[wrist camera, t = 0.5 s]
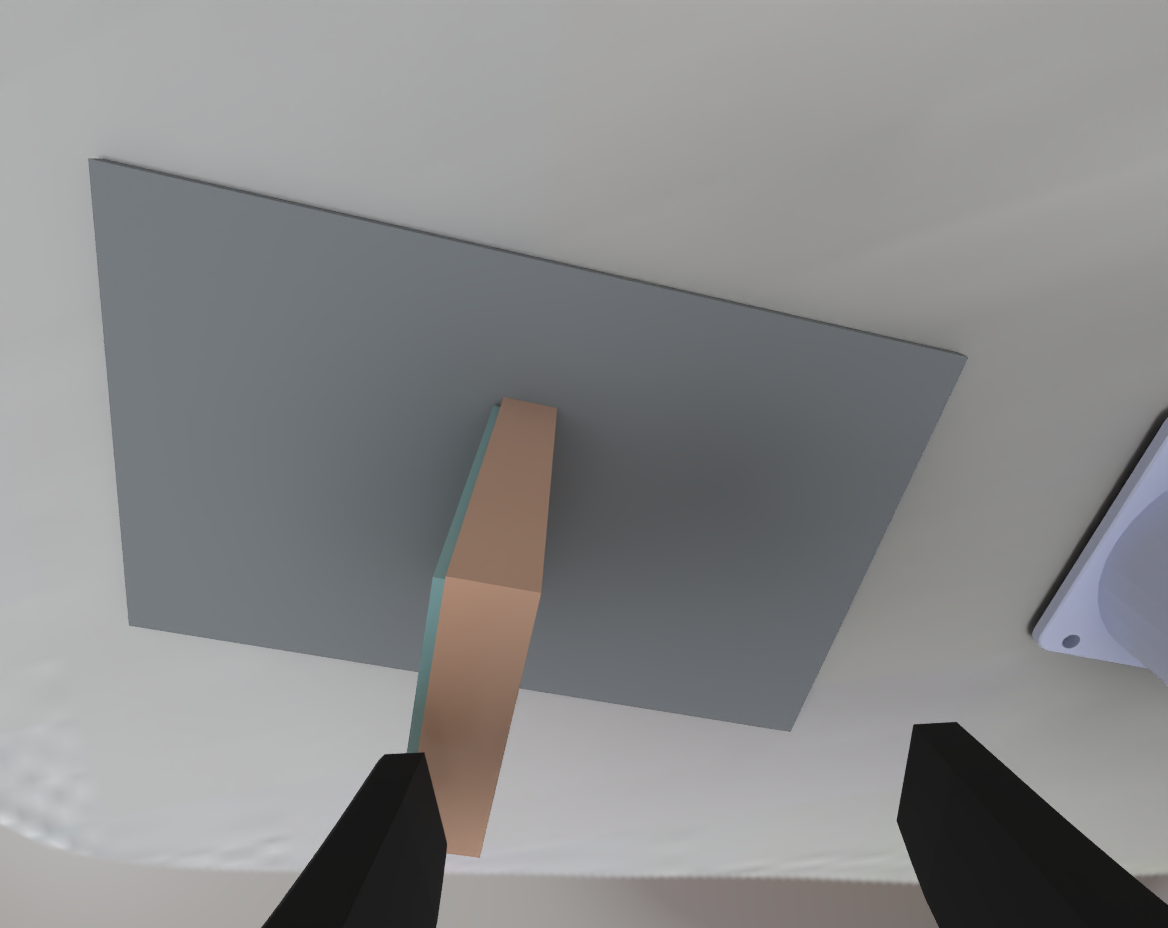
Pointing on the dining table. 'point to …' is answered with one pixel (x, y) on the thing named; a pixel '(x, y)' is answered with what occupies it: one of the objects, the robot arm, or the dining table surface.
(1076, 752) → the dining table surface
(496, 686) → the tile
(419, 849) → the robot arm
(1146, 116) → the dining table surface
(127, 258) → the mat
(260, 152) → the dining table surface
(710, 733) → the dining table surface
